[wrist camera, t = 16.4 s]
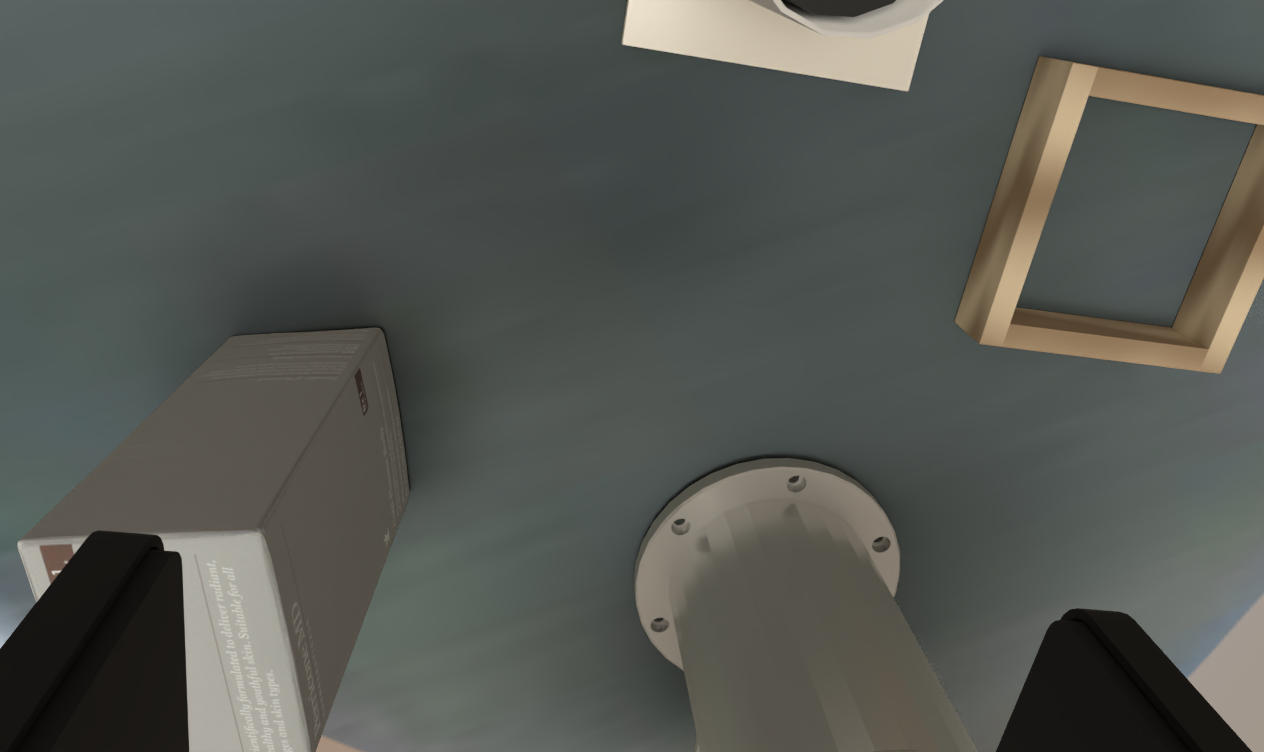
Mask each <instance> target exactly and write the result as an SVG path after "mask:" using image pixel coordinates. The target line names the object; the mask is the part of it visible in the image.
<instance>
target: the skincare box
mask: <svg viewBox="0 0 1264 752" xmlns="http://www.w3.org/2000/svg"><path fill="white" fill-rule="evenodd" d="M409 496H410V493H409V484H408V474H407V465H406V457H405V450H404V442H403V435H402V428H401V421H400V414H399V408H398V402H397V396H396V390H395V385H394V380H393V374H392V369H391V364H390V360H389V355H388V350H387V345H386V341H385V337H384V333H383V332H382V330H381V329H380V328H363V329H348V330H332V331H315V332H297V333H273V334H258V335H242V336H232V337H229V338H228V340H227V341H226V342H225V343H224V344H223V345H222V346H220V348H219V349H218V350H217V351H216V352H214V353H213V354H212V355H211V356H210V357H209V358H208V359H207V360H206V361H205V362H204V363H203V364H202V365H201V366H200V367H199V368H198V369H197V370H196V371H195V372H194V373H193V374H192V375H191V376H190V377H188V378H187V379H186V380H185V381H184V382H183V383H182V384H181V385H180V386H179V387H178V388H177V389H176V390H175V391H174V392H173V393H172V394H171V395H170V396H169V397H168V398H167V399H166V400H165V401H164V402H163V403H162V404H161V405H160V406H159V407H158V408H157V409H156V410H155V411H154V412H153V413H152V414H151V415H150V416H149V417H148V418H147V419H145V420H144V421H143V422H142V423H141V424H140V425H139V426H138V427H137V428H136V429H135V430H134V431H133V432H132V433H131V434H130V435H129V436H128V437H127V438H126V439H125V440H124V441H123V442H122V443H121V444H120V445H119V446H118V447H117V448H116V449H115V450H114V451H113V452H112V453H111V454H110V455H109V456H108V457H107V458H106V459H105V460H104V461H103V462H102V463H101V464H99V465H98V466H97V467H96V468H95V469H94V470H93V471H92V472H91V473H90V474H89V475H88V476H87V477H86V478H85V479H84V480H83V481H81V482H80V483H79V484H78V485H77V486H76V487H75V488H74V489H73V490H72V491H71V492H70V493H69V494H68V495H67V496H66V497H65V498H64V499H63V500H61V501H60V502H59V503H58V504H57V505H56V506H55V507H54V508H53V509H52V510H51V511H50V512H49V513H48V514H47V515H46V516H45V517H44V518H43V519H42V520H41V521H40V522H39V523H37V524H36V525H35V526H34V527H33V528H32V529H31V530H30V531H29V532H28V533H27V534H26V535H25V536H24V537H23V538H21V539H20V540H19V541H18V544H17V545H18V550H19V553H20V556H21V558H22V561H23V564H24V567H25V570H26V573H27V576H28V579H29V582H30V585H31V588H32V591H33V594H34V597H35V599H36V602H37V601H38V600H39V599H40V597H41V596H42V595H43V594H44V592H45V591H46V590H47V588H48V587H49V586H50V585H51V583H52V582H53V581H54V579H55V578H56V577H57V576H58V574H59V573H60V572H61V570H62V569H63V568H64V567H65V565H66V564H67V563H68V562H69V560H70V559H71V558H72V556H73V555H74V554H75V553H76V551H77V550H78V549H79V547H80V546H81V545H82V544H83V542H84V541H85V540H86V538H87V537H88V536H89V535H90V534H92V533H93V532H95V531H98V530H101V531H114V532H126V533H139V534H152V535H158V536H159V537H161V539H162V542H163V545H164V551H176V552H178V553H180V556H181V558H182V570H183V596H184V623H185V649H186V676H187V702H188V728H189V752H315V751H316V749H317V746H318V743H319V740H320V738H321V735H322V732H323V729H324V727H325V724H326V721H327V718H328V716H329V713H330V710H331V708H332V705H333V702H334V699H335V697H336V694H337V691H338V688H339V686H340V683H341V680H342V677H343V675H344V672H345V669H346V667H347V664H348V661H349V659H350V656H351V653H352V650H353V648H354V645H355V642H356V640H357V637H358V634H359V631H360V629H361V626H362V623H363V621H364V618H365V615H366V613H367V610H368V607H369V604H370V602H371V599H372V596H373V593H374V590H375V588H376V585H377V583H378V580H379V577H380V575H381V572H382V569H383V567H384V564H385V561H386V558H387V555H388V553H389V550H390V547H391V545H392V542H393V540H394V537H395V534H396V531H397V529H398V526H399V523H400V520H401V518H402V515H403V512H404V510H405V507H406V505H407V502H408V500H409Z"/></svg>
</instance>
